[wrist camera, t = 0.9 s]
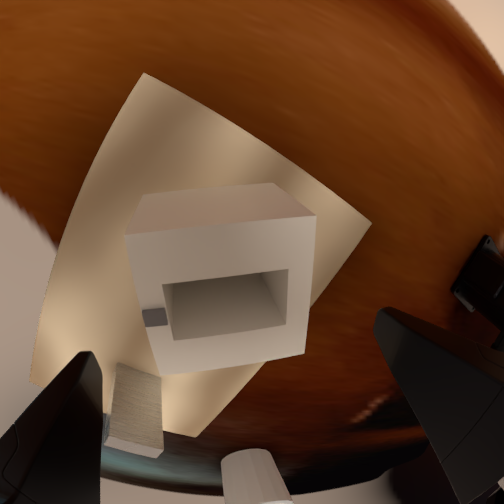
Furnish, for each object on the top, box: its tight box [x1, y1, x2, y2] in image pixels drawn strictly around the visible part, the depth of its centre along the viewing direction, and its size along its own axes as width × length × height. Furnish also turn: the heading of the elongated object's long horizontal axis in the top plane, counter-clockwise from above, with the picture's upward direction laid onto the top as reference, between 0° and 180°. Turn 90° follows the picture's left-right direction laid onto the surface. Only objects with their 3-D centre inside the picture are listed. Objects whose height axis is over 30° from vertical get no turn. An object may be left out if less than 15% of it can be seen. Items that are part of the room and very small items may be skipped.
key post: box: [104, 362, 164, 458], centre depth 15 cm, size 3×1×6 cm, turn 56°
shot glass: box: [221, 449, 293, 504], centre depth 24 cm, size 7×7×7 cm
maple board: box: [29, 73, 372, 437], centre depth 17 cm, size 14×21×2 cm, turn 146°
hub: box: [124, 183, 317, 376], centre depth 12 cm, size 6×6×5 cm
